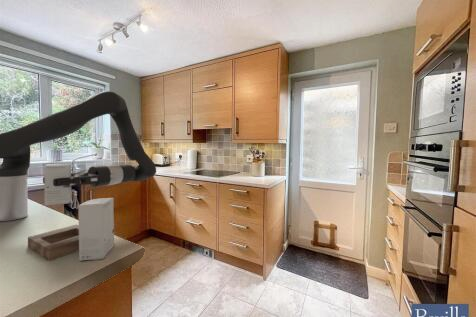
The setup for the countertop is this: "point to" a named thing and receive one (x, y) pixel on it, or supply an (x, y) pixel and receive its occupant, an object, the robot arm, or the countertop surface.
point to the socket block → (55, 242)
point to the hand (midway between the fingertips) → (48, 181)
